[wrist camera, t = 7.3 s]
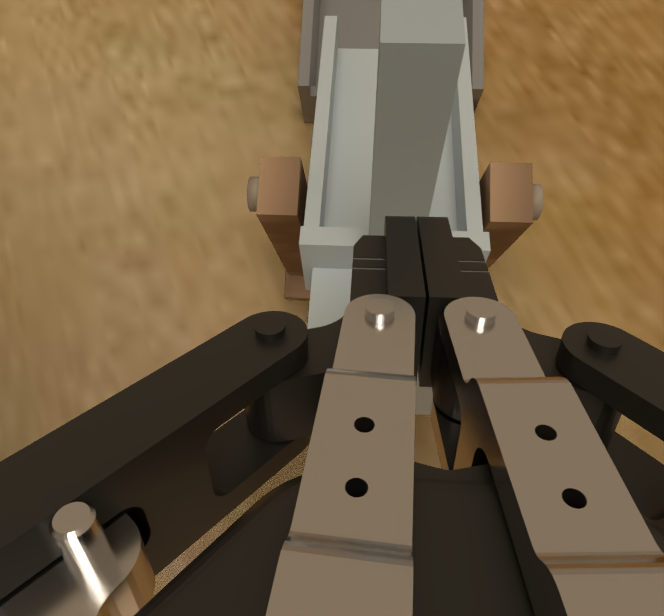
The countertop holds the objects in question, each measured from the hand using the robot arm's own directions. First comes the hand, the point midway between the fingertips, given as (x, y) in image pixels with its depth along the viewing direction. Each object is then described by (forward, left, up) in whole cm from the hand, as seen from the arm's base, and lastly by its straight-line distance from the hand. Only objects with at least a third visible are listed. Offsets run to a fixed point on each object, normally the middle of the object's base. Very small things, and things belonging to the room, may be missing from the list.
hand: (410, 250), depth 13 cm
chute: (0, +5, -13) cm, 13 cm away
